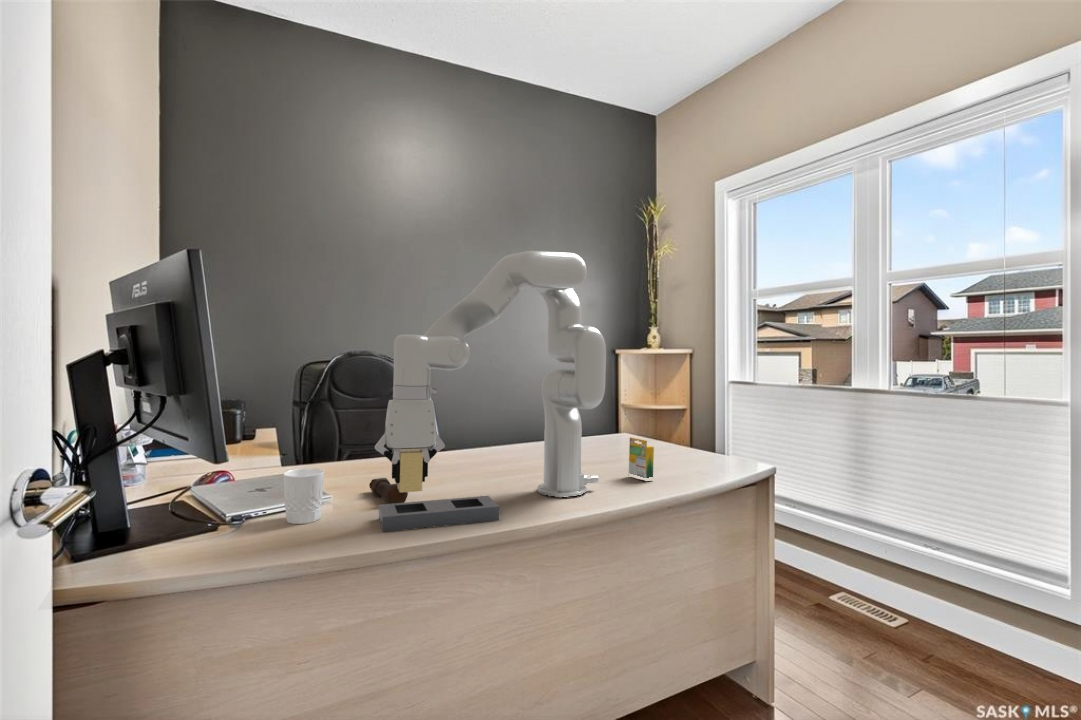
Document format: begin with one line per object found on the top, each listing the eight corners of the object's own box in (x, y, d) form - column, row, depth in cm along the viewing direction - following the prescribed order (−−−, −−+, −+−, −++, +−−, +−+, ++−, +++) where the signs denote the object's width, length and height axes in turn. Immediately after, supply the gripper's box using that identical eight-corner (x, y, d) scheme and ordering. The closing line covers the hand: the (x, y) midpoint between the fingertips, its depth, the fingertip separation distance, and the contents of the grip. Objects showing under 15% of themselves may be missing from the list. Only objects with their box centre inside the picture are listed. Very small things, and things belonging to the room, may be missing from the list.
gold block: (418, 485, 118) (419, 448, 118) (422, 491, 114) (422, 452, 113) (397, 487, 116) (398, 449, 116) (399, 492, 112) (400, 453, 112)
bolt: (378, 498, 139) (399, 511, 127) (360, 491, 137) (381, 503, 125) (389, 477, 141) (411, 488, 129) (372, 469, 139) (393, 479, 126)
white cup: (318, 524, 113) (319, 476, 113) (278, 526, 112) (278, 477, 111) (327, 513, 121) (327, 467, 120) (289, 514, 119) (289, 468, 119)
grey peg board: (488, 508, 126) (488, 495, 126) (499, 520, 117) (499, 506, 117) (379, 518, 117) (379, 504, 117) (382, 532, 109) (382, 517, 109)
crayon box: (653, 481, 155) (654, 440, 154) (645, 482, 153) (646, 441, 153) (636, 475, 161) (636, 436, 160) (628, 477, 159) (629, 437, 159)
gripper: (448, 392, 121) (446, 475, 121) (368, 392, 115) (366, 479, 115) (455, 395, 114) (453, 483, 114) (370, 395, 108) (368, 488, 108)
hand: (409, 480), depth 115 cm, fingers closed on gold block, 4 cm apart
